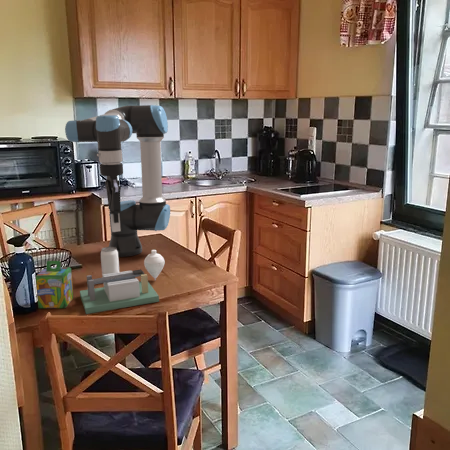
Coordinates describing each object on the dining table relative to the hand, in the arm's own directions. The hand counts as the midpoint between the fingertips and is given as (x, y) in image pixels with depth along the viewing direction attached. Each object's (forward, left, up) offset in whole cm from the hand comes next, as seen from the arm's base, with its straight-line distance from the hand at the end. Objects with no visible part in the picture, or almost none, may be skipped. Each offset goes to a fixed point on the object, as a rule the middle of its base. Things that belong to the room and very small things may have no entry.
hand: (116, 231), depth 162 cm
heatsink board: (+6, -2, -23) cm, 23 cm away
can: (-15, -1, -23) cm, 27 cm away
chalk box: (+1, -22, -23) cm, 31 cm away
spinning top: (-6, +14, -23) cm, 28 cm away
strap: (+6, -2, -15) cm, 17 cm away
